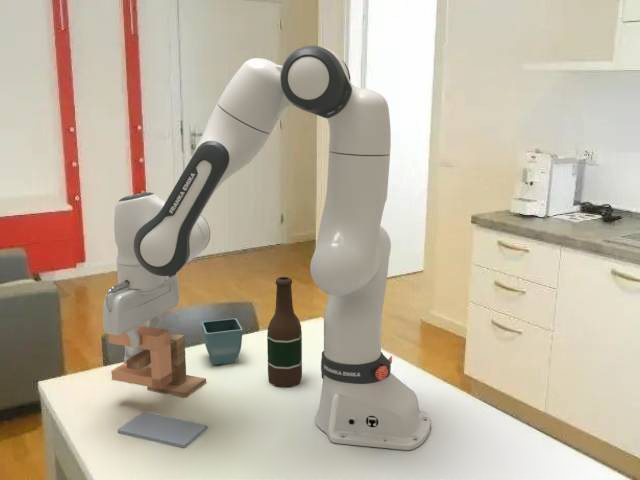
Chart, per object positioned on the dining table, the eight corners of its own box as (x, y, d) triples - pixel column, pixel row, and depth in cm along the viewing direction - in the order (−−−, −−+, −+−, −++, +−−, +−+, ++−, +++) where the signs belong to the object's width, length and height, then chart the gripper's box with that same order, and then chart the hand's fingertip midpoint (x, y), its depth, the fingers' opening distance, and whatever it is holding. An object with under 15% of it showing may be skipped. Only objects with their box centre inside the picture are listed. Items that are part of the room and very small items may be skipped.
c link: (172, 381, 134) (169, 330, 131) (160, 389, 130) (157, 337, 128) (124, 372, 138) (120, 322, 136) (111, 379, 134) (108, 329, 132)
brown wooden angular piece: (206, 382, 146) (204, 333, 144) (156, 419, 129) (153, 365, 127) (168, 375, 150) (166, 327, 147) (115, 411, 133) (111, 357, 130)
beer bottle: (280, 370, 152) (279, 271, 147) (308, 378, 148) (308, 276, 143) (261, 383, 146) (258, 279, 141) (290, 391, 142) (288, 285, 137)
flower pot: (202, 355, 161) (200, 321, 159) (237, 351, 164) (236, 317, 162) (207, 369, 153) (205, 333, 151) (244, 365, 156) (243, 329, 154)
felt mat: (207, 427, 126) (207, 425, 126) (184, 448, 119) (184, 445, 119) (143, 414, 132) (143, 411, 132) (117, 432, 124) (117, 429, 124)
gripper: (119, 290, 118) (124, 362, 121) (183, 264, 137) (186, 326, 140) (91, 287, 120) (97, 357, 123) (158, 261, 139) (161, 323, 142)
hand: (145, 340), depth 132 cm, fingers closed on c link, 4 cm apart
